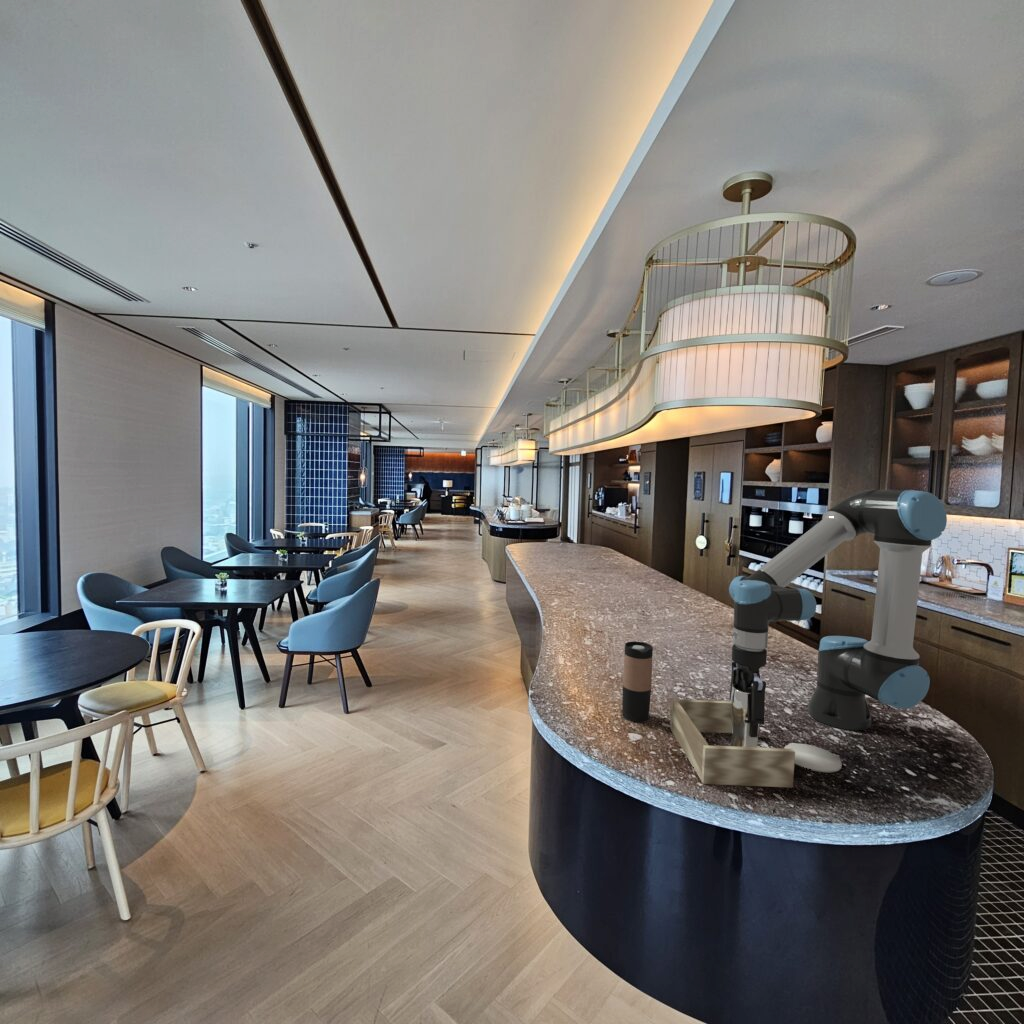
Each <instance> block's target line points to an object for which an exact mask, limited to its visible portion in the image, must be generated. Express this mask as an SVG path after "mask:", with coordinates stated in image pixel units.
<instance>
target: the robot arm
mask: <svg viewBox="0 0 1024 1024" xmlns="http://www.w3.org/2000/svg"><path fill="white" fill-rule="evenodd" d="M947 518H948V517H947V510H946V509H945V506H944V504H943V502H942V501H941V500H940V499H939V497H938V496H936V495H935V494H933V493H931V492H928V491H923V490H914V489H880V488H875V489H874V488H873V489H866V490H862V491H859V492H857V493H854V494H853V495H850V496H848V497H846V498H844V499H842V500H841V501H839V503H836V504H835V505H833V506H832V507H831V508H829V509H828V510H827V511H826V512H824V513H823V515H822V517H821V520H820V521H819V522H818V523H816V524H815V525H814V526H812V527H811V528H809V530H807V531H806V532H805V533H804V534H802V535H800V536H799V537H798V538H797V539H796V540H794V541H793V542H792V543H790V544H789V545H788V546H787V547H785V548H783V550H782V551H780V552H779V553H778V554H776V555H775V556H773V557H772V558H771V559H770V560H768V561H767V562H766V563H765V564H764V565H763V566H761V567H760V568H758V569H757V570H756V571H754V572H752V574H750V575H749V576H748V575H739V576H736V577H734V578H733V579H732V580H731V582H730V583H729V587H728V591H729V596H730V598H731V599H732V600H733V601H734V603H733V629H732V630H733V631H731V636H732V643H733V645H732V647H731V660H732V662H731V678H730V689H729V701H731V693H732V685H733V684H734V683H737V689H738V690H740V691H743V692H747V693H752V696H751V695H749V694H748V701H747V717H748V720H745V740H744V747H758V742H759V741H758V740H759V728H760V725H764V724H765V709H766V708H765V706H766V705H765V702H766V701H765V700H766V688H767V682H766V681H765V680H761V674H760V669H761V668H762V667H765V666H766V664H767V659H768V658H767V657H768V651H767V648H768V643H769V642H768V641H769V624H770V622H788V621H790V622H791V621H792V622H793V621H795V622H800V621H804V620H810V619H811V618H812V617H814V615H815V614H816V612H817V601H816V598H815V596H814V594H813V592H811V591H810V590H808V589H806V588H798V587H793V588H788V587H787V586H788V585H790V584H791V583H792V582H793V581H795V580H797V578H799V577H800V576H802V574H803V573H805V572H807V571H808V570H809V569H810V568H812V566H814V565H815V564H816V563H818V562H819V561H820V560H822V559H823V558H824V557H825V556H826V555H828V554H829V553H831V552H832V551H833V550H834V549H836V548H837V547H839V545H841V544H842V543H843V542H845V541H846V542H849V541H852V540H854V539H855V538H857V536H860V535H862V534H870V533H871V534H874V535H873V542H874V544H876V545H877V546H878V548H879V558H878V568H877V577H876V589H875V598H874V606H873V607H874V608H873V619H872V628H871V629H872V630H871V639H870V640H869V641H868V640H867V639H865V638H862V637H855V636H848V635H847V636H845V635H827V636H824V637H822V638H821V639H820V641H819V648H818V655H817V675H816V676H817V678H816V686H815V689H814V692H813V693H812V695H811V697H810V700H809V701H808V706H807V713H808V715H809V716H810V717H812V718H813V719H814V720H816V721H818V722H820V723H823V724H825V725H827V726H830V727H834V728H837V729H838V728H839V729H842V730H843V729H844V730H849V731H864V730H865V731H866V730H868V729H870V728H871V727H872V716H871V712H870V708H869V705H868V701H867V699H866V696H867V697H869V698H872V699H874V700H876V701H878V702H880V703H881V704H883V705H886V706H890V707H893V708H895V709H899V710H907V709H911V708H913V707H916V706H917V705H918V704H919V703H920V702H922V700H924V698H925V697H926V696H927V694H928V691H929V689H930V685H931V684H930V682H931V680H930V676H929V674H928V672H927V670H926V669H924V668H923V667H922V666H919V665H920V654H919V653H918V652H917V651H916V650H915V648H914V640H915V639H914V638H915V628H916V619H917V618H916V617H917V607H918V599H919V589H920V579H921V570H922V563H923V562H922V560H923V553H924V552H925V551H928V549H930V548H931V547H932V541H933V540H936V539H938V538H939V537H940V536H942V534H943V533H942V532H944V531H945V529H946V527H947V523H948V519H947ZM748 687H752V688H748ZM758 727H759V728H758ZM731 734H733V726H732V733H731Z"/></svg>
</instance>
